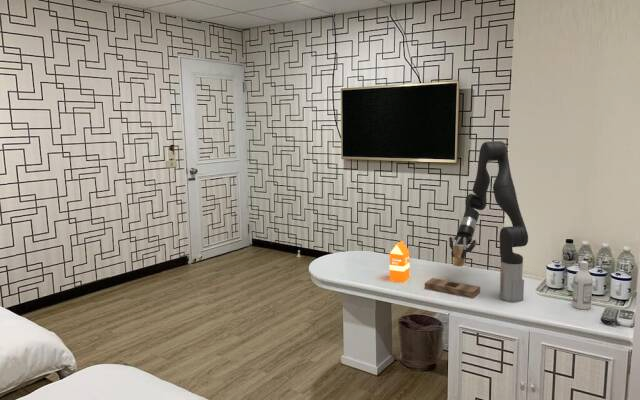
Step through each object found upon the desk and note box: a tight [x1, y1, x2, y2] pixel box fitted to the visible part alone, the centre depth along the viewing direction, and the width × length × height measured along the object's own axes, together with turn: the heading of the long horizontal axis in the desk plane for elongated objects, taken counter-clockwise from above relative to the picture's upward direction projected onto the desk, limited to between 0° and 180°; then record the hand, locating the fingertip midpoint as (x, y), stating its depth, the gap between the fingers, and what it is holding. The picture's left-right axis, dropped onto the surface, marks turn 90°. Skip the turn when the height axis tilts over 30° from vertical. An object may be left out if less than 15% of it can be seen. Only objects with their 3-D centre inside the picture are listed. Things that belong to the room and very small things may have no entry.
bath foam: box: [571, 260, 593, 311], centre depth 200 cm, size 7×7×20 cm
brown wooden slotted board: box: [424, 277, 481, 299], centre depth 226 cm, size 24×9×3 cm, turn 52°
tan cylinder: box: [452, 244, 465, 268], centre depth 230 cm, size 4×4×10 cm
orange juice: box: [389, 240, 411, 284], centre depth 244 cm, size 8×9×20 cm
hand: (457, 256), depth 229 cm, fingers closed on tan cylinder, 4 cm apart
